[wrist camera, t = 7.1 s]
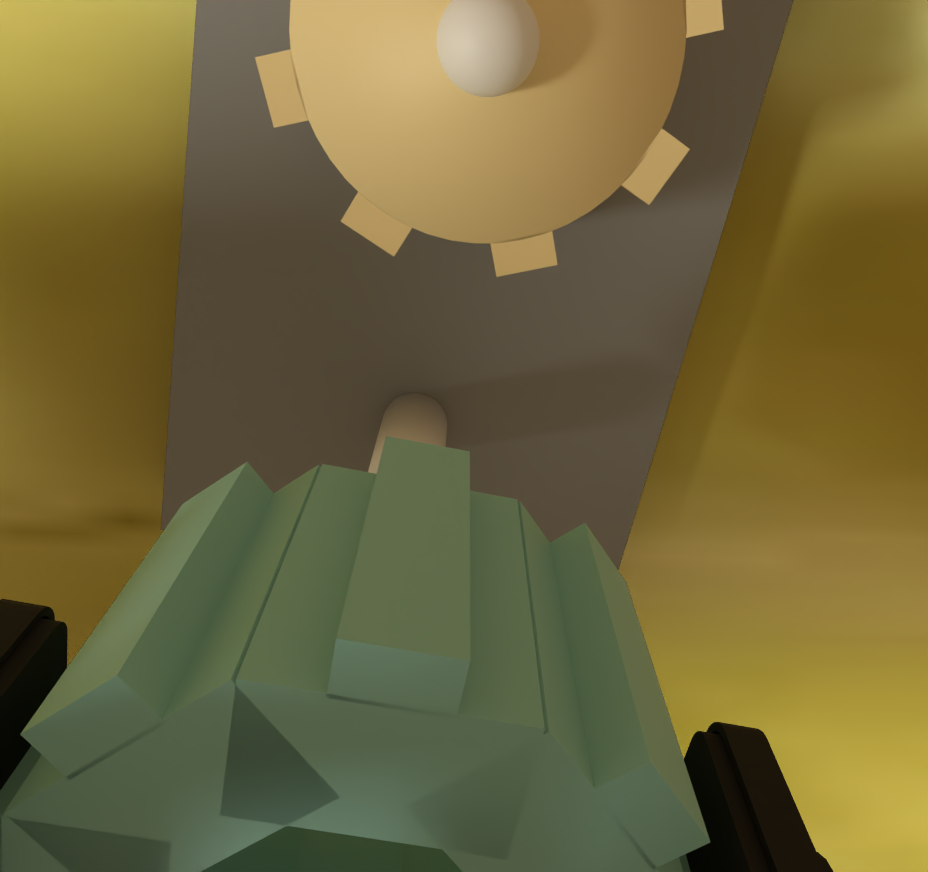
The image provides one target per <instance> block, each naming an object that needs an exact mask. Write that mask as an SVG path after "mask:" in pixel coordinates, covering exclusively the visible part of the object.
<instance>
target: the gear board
mask: <svg viewBox="0 0 928 872" xmlns="http://www.w3.org/2000/svg"><path fill="white" fill-rule="evenodd" d="M792 3H793V0H197V4H196V19H195V34H194V48H193V63H192V78H191V93H190V107H189V122H188V137H187V152H186V166H185V181H184V196H183V210H182V225H181V240H180V255H179V269H178V284H177V299H176V314H175V328H174V343H173V358H172V373H171V387H170V402H169V417H168V431H167V446H166V461H165V476H164V490H163V505H162V520H161V530H165V528H166V527H167V525H168V524H169V523H170V521H171V520H172V518H173V517H174V516H175V514H176V513H177V511H178V510H179V508H180V507H181V506H182V504H183V503H185V502H186V501H188V500H189V499H191V498H192V497H194V496H195V495H197V494H198V493H200V492H202V491H203V490H205V489H206V488H208V487H209V486H211V485H212V484H214V483H215V482H217V481H218V480H220V479H221V478H223V477H224V476H226V475H227V474H229V473H231V472H232V471H234V470H235V469H237V468H238V467H240V466H241V465H243V464H244V463H246V462H248V463H249V464H250V466H251V467H252V468H253V469H254V470H255V472H256V473H257V474H258V475H259V476H260V478H261V479H262V480H263V481H264V482H265V484H266V485H267V486H268V487H269V488H270V490H271V491H272V492H273V493H275V492H277V491H278V490H280V489H281V488H283V487H284V486H286V485H288V484H289V483H291V482H292V481H294V480H295V479H297V478H298V477H300V476H302V475H303V474H305V473H306V472H308V471H309V470H311V469H313V468H314V467H316V466H317V465H319V466H320V467H321V466H322V464H326V465H331V466H337V467H342V468H348V469H353V470H359V471H364V472H370V473H375V474H377V470H378V466H379V462H380V458H381V454H382V450H383V446H384V441H385V437H386V436H389V437H395V438H400V439H406V440H411V441H416V442H422V443H427V444H433V445H438V446H443V447H449V448H454V449H460V450H465V451H470V491H474V492H480V493H485V494H491V495H497V496H502V497H508V498H513V499H517V501H518V502H520V501H521V503H522V504H523V506H524V507H525V508H526V510H527V511H528V513H529V514H530V515H531V517H532V518H533V520H534V521H535V522H536V524H537V525H538V527H539V528H540V529H541V531H542V532H543V534H544V535H545V536H546V538H547V539H548V541H549V542H552V541H554V540H556V539H557V538H559V537H561V536H563V535H564V534H566V533H568V532H570V531H571V530H573V529H575V528H577V527H578V526H580V525H582V524H584V523H586V525H587V526H588V528H589V529H590V530H591V532H592V533H593V535H594V536H595V538H596V539H597V541H598V542H599V543H600V545H601V546H602V548H603V549H604V551H605V552H606V554H607V555H608V556H609V558H610V559H611V561H612V562H613V564H614V565H615V567H616V568H617V570H618V569H619V566H620V563H621V559H622V556H623V553H624V550H625V546H626V543H627V540H628V537H629V533H630V530H631V527H632V524H633V520H634V517H635V514H636V511H637V507H638V504H639V501H640V498H641V494H642V491H643V488H644V485H645V481H646V478H647V475H648V472H649V468H650V465H651V462H652V459H653V455H654V452H655V449H656V446H657V442H658V439H659V436H660V433H661V429H662V426H663V423H664V420H665V416H666V413H667V410H668V407H669V403H670V400H671V397H672V394H673V390H674V387H675V384H676V381H677V377H678V374H679V371H680V367H681V364H682V361H683V358H684V354H685V351H686V348H687V345H688V341H689V338H690V335H691V332H692V328H693V325H694V322H695V319H696V315H697V312H698V309H699V306H700V302H701V299H702V296H703V293H704V289H705V286H706V283H707V280H708V276H709V273H710V270H711V267H712V263H713V260H714V257H715V254H716V250H717V247H718V244H719V241H720V237H721V234H722V231H723V228H724V224H725V221H726V218H727V215H728V211H729V208H730V205H731V202H732V198H733V195H734V192H735V189H736V185H737V182H738V179H739V176H740V172H741V169H742V166H743V163H744V159H745V156H746V153H747V150H748V146H749V143H750V140H751V137H752V133H753V130H754V127H755V124H756V120H757V117H758V114H759V111H760V107H761V104H762V101H763V98H764V94H765V91H766V88H767V85H768V81H769V78H770V75H771V72H772V68H773V65H774V62H775V59H776V55H777V52H778V49H779V46H780V42H781V39H782V36H783V33H784V29H785V26H786V23H787V20H788V16H789V13H790V10H791V7H792Z"/></svg>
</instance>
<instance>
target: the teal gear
mask: <svg viewBox="0 0 928 872" xmlns="http://www.w3.org/2000/svg"><path fill="white" fill-rule="evenodd" d="M20 735H21V736H22V737H24V738H25V739H26V740H27V741H28V742H29V743H30V744H31V745H32V746H31V747H30V749H29V750H28V751H27V753H26V754H25V756H24V757H23V759H22V760H21V762H20V763H19V764H18V766H17V767H16V769H15V770H14V772H13V773H12V775H11V776H10V777H9V779H8V780H7V782H6V783H5V785H4V786H3V788H2V789H1V790H0V872H690V868H689V864H688V861H687V857H686V854H687V853H689V852H691V851H693V850H695V849H697V848H699V847H702V846H704V845H706V844H708V843H710V839H709V836H708V833H707V830H706V827H705V824H704V821H703V818H702V815H701V811H700V808H699V805H698V802H697V799H696V796H695V793H694V790H693V787H692V784H691V781H690V777H689V774H688V771H687V768H686V765H685V762H684V759H683V756H682V753H681V750H680V747H679V744H678V740H677V737H676V734H675V731H674V728H673V725H672V722H671V719H670V716H669V713H668V710H667V707H666V703H665V700H664V697H663V694H662V691H661V688H660V685H659V682H658V679H657V676H656V673H655V670H654V666H653V663H652V660H651V657H650V654H649V651H648V648H647V645H646V642H645V639H644V636H643V633H642V629H641V626H640V623H639V620H638V617H637V614H636V611H635V608H634V605H633V602H632V599H631V595H630V592H629V589H628V586H627V583H626V581H625V580H624V578H623V577H622V575H621V574H620V572H619V571H618V570H617V568H616V567H615V565H614V564H613V562H612V561H611V559H610V558H609V556H608V555H607V554H606V552H605V551H604V549H603V548H602V546H601V545H600V543H599V542H598V541H597V539H596V538H595V536H594V535H593V533H592V532H591V530H590V529H589V528H588V526H587V525H586V523H584V524H582V525H580V526H578V527H577V528H575V529H573V530H571V531H570V532H568V533H566V534H564V535H563V536H561V537H559V538H557V539H556V540H554V541H552V542H549V541H548V539H547V538H546V536H545V535H544V534H543V532H542V531H541V529H540V528H539V527H538V525H537V524H536V522H535V521H534V520H533V518H532V517H531V515H530V514H529V513H528V511H527V510H526V508H525V507H524V506H523V504H522V503H521V501H520V502H518V501H517V499H513V498H508V497H502V496H497V495H491V494H485V493H480V492H474V491H470V451H465V450H460V449H454V448H449V447H443V446H438V445H433V444H427V443H422V442H416V441H411V440H406V439H400V438H395V437H389V436H386V437H385V441H384V446H383V450H382V454H381V458H380V462H379V466H378V470H377V474H375V473H370V472H364V471H359V470H353V469H348V468H342V467H337V466H331V465H326V464H322V466H321V467H320V466H319V465H317V466H316V467H314V468H313V469H311V470H309V471H308V472H306V473H305V474H303V475H302V476H300V477H298V478H297V479H295V480H294V481H292V482H291V483H289V484H288V485H286V486H284V487H283V488H281V489H280V490H278V491H277V492H275V493H273V492H272V491H271V490H270V488H269V487H268V486H267V485H266V484H265V482H264V481H263V480H262V479H261V478H260V476H259V475H258V474H257V473H256V472H255V470H254V469H253V468H252V467H251V466H250V464H249V463H248V462H246V463H244V464H243V465H241V466H240V467H238V468H237V469H235V470H234V471H232V472H231V473H229V474H227V475H226V476H224V477H223V478H221V479H220V480H218V481H217V482H215V483H214V484H212V485H211V486H209V487H208V488H206V489H205V490H203V491H202V492H200V493H198V494H197V495H195V496H194V497H192V498H191V499H189V500H188V501H186V502H185V503H183V504H182V506H181V507H180V508H179V510H178V511H177V513H176V514H175V516H174V517H173V518H172V520H171V521H170V523H169V524H168V525H167V527H166V528H165V530H164V531H163V533H162V534H161V535H160V537H159V538H158V540H157V541H156V542H155V544H154V545H153V547H152V548H151V550H150V551H149V552H148V554H147V555H146V557H145V558H144V560H143V561H142V562H141V564H140V565H139V567H138V568H137V569H136V571H135V572H134V574H133V575H132V577H131V578H130V579H129V581H128V582H127V584H126V585H125V586H124V588H123V589H122V591H121V592H120V594H119V595H118V596H117V598H116V599H115V601H114V602H113V603H112V605H111V606H110V608H109V609H108V611H107V612H106V613H105V615H104V616H103V618H102V619H101V621H100V622H99V623H98V625H97V626H96V628H95V629H94V630H93V632H92V633H91V635H90V636H89V638H88V639H87V640H86V642H85V643H84V645H83V646H82V647H81V649H80V650H79V652H78V653H77V655H76V656H75V657H74V659H73V660H72V662H71V663H70V665H69V666H68V667H67V669H66V670H65V672H64V673H63V674H62V676H61V677H60V679H59V680H58V682H57V683H56V684H55V686H54V687H53V689H52V690H51V691H50V693H49V694H48V696H47V697H46V699H45V700H44V701H43V703H42V704H41V706H40V707H39V709H38V710H37V711H36V713H35V714H34V716H33V717H32V718H31V720H30V721H29V723H28V724H27V726H26V727H25V728H24V730H23V731H22V733H21V734H20Z"/></svg>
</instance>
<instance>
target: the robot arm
mask: <svg viewBox="0 0 928 872" xmlns="http://www.w3.org/2000/svg"><path fill="white" fill-rule="evenodd" d="M66 669H67V626H66V624H65V623H64V622H60V621H55V617H54V612H53V610H52V609H51V608H50V607H47V606H41V605H35V604H29V603H23V602H18V601H12V600H6V599H1V600H0V790H1V789H2V788H3V786H4V785H5V783H6V782H7V780H8V779H9V777H10V776H11V775H12V773H13V772H14V770H15V769H16V767H17V766H18V764H19V763H20V762H21V760H22V759H23V757H24V756H25V754H26V753H27V751H28V750H29V749H30V747H31V746H32V745H31V744H30V743H29V742H28V741H27V740H26V739H25V738H24V737H22V736H21V735H20V734H21V733H22V731H23V730H24V728H25V727H26V726H27V724H28V723H29V721H30V720H31V718H32V717H33V716H34V714H35V713H36V711H37V710H38V709H39V707H40V706H41V704H42V703H43V701H44V700H45V699H46V697H47V696H48V694H49V693H50V691H51V690H52V689H53V687H54V686H55V684H56V683H57V682H58V680H59V679H60V677H61V676H62V674H63V673H64V672H65V670H66ZM684 762H685V765H686V768H687V771H688V774H689V777H690V781H691V784H692V787H693V790H694V793H695V796H696V799H697V802H698V805H699V808H700V811H701V815H702V818H703V821H704V824H705V827H706V830H707V833H708V836H709V839H710V843H708V844H706V845H704V846H702V847H699V848H697V849H695V850H693V851H691V852H689V853H687V854H686V857H687V861H688V864H689V868H690V872H833V870H832V869H831V867H830V865H829V863H828V862H827V860H826V859H825V858H824V857H823V856H822V855H820V854H819V853H818V852H816V850H815V848H814V846H813V843H812V841H811V839H810V836H809V834H808V832H807V830H806V827H805V825H804V823H803V820H802V818H801V816H800V813H799V811H798V809H797V807H796V804H795V802H794V800H793V797H792V795H791V793H790V790H789V788H788V786H787V784H786V781H785V779H784V777H783V774H782V772H781V770H780V767H779V765H778V763H777V761H776V758H775V756H774V754H773V751H772V749H771V747H770V744H769V742H768V740H767V738H766V736H765V734H764V733H763V732H762V731H761V730H759V729H755V728H750V727H744V726H738V725H732V724H726V723H721V722H714V723H712V724H711V725H710V726H709V728H708V730H707V732H702V731H697V732H696V733H695V734H694V736H693V738H692V740H691V742H690V745H689V748H688V750H687V753H686V755H685V758H684Z"/></svg>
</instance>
